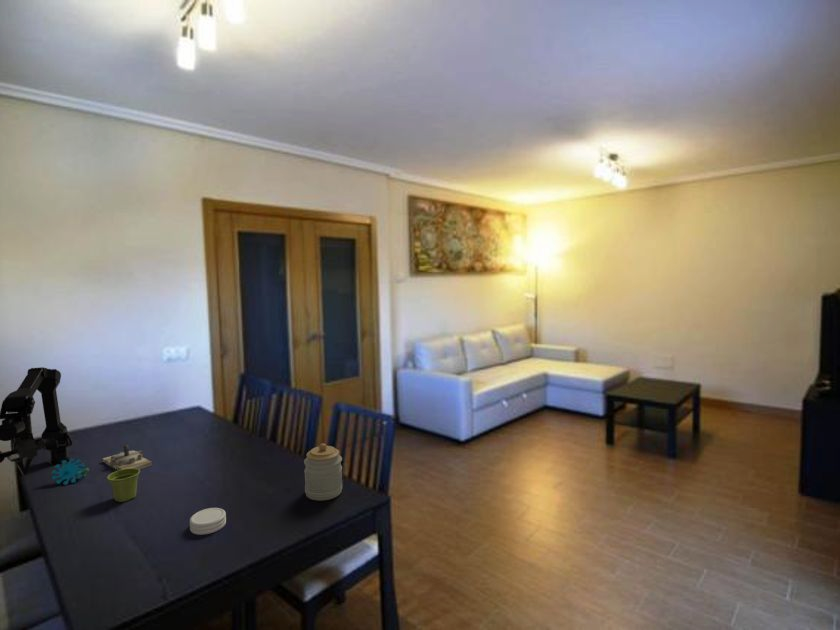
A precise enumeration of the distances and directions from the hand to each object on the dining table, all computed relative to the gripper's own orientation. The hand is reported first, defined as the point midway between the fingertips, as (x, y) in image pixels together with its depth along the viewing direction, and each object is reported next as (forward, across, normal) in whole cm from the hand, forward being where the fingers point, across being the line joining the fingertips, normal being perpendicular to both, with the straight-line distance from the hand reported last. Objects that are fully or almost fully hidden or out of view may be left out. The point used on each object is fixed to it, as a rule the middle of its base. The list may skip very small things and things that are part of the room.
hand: (24, 474), depth 158 cm
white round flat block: (+8, +26, -71) cm, 76 cm away
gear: (+8, +13, 0) cm, 15 cm away
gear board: (+7, +32, 0) cm, 33 cm away
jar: (+7, +61, -84) cm, 104 cm away
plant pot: (+8, +19, -31) cm, 37 cm away
